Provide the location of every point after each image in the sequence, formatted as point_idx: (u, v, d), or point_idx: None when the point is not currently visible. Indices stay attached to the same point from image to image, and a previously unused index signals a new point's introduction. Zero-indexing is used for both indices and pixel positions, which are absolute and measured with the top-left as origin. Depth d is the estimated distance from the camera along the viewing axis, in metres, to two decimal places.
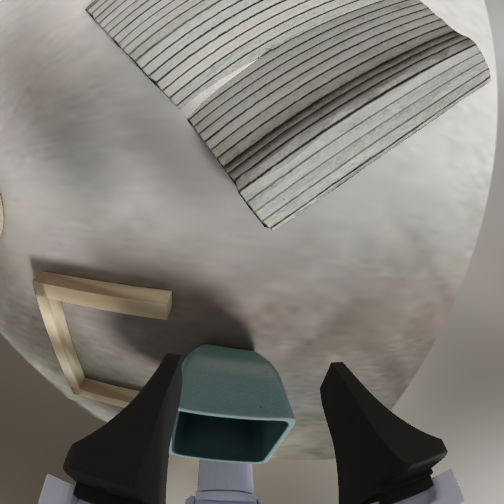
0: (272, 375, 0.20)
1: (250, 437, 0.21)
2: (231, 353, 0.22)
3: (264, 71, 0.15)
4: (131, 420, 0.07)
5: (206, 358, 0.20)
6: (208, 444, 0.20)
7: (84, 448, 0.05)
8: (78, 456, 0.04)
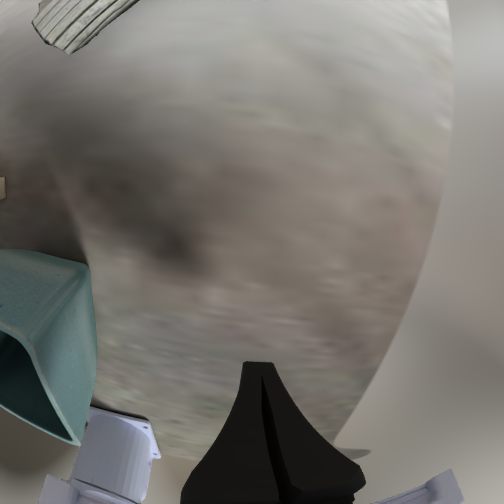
0: (61, 279, 0.10)
1: None
2: (46, 257, 0.13)
3: None
4: (239, 434, 0.07)
5: (9, 253, 0.11)
6: (20, 394, 0.10)
7: (208, 475, 0.05)
8: (207, 486, 0.05)
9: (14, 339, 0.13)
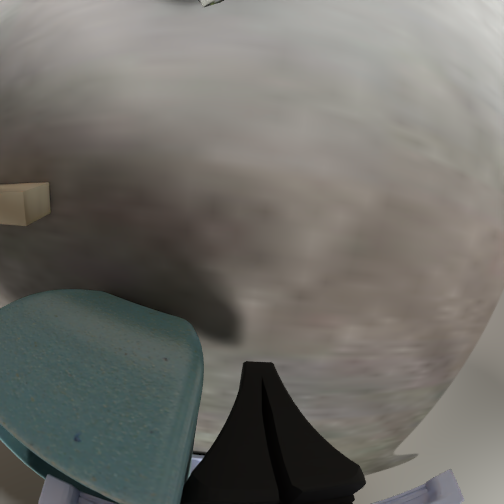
0: (175, 370, 0.07)
1: None
2: (127, 310, 0.10)
3: None
4: (239, 434, 0.07)
5: (64, 301, 0.09)
6: None
7: (208, 475, 0.05)
8: (207, 486, 0.05)
9: None
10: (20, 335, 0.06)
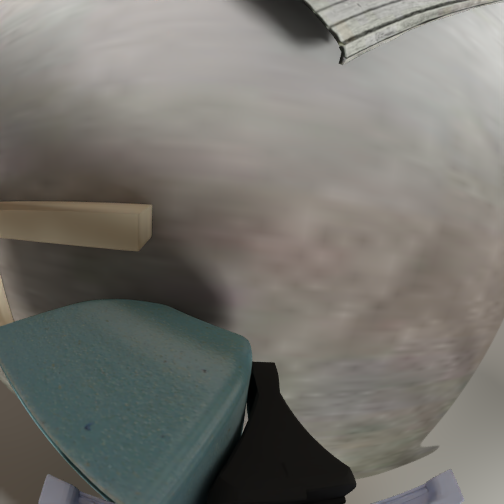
0: (211, 382, 0.07)
1: None
2: (183, 322, 0.11)
3: None
4: (261, 434, 0.07)
5: (120, 309, 0.10)
6: None
7: (235, 476, 0.05)
8: (236, 487, 0.05)
9: None
10: (67, 333, 0.07)
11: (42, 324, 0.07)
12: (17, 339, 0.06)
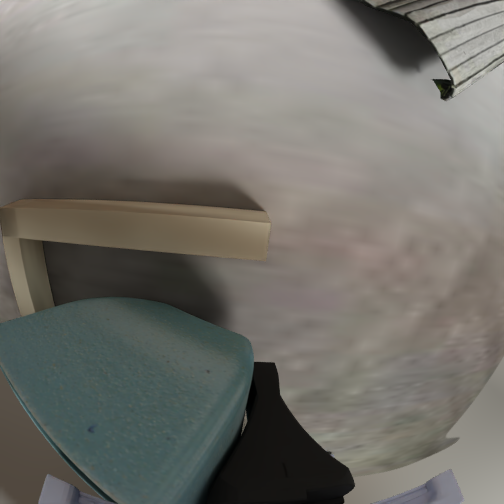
0: (215, 383, 0.07)
1: None
2: (184, 321, 0.11)
3: None
4: (261, 434, 0.07)
5: (120, 307, 0.10)
6: None
7: (235, 476, 0.05)
8: (236, 487, 0.05)
9: None
10: (67, 331, 0.07)
11: (41, 322, 0.07)
12: (16, 337, 0.06)
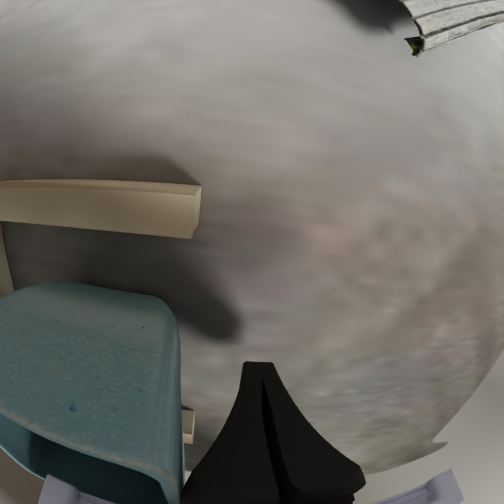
0: (153, 335, 0.08)
1: None
2: (102, 293, 0.10)
3: None
4: (239, 434, 0.07)
5: (43, 293, 0.08)
6: (83, 469, 0.08)
7: (208, 475, 0.05)
8: (207, 486, 0.05)
9: None
10: (7, 327, 0.06)
11: None
12: None
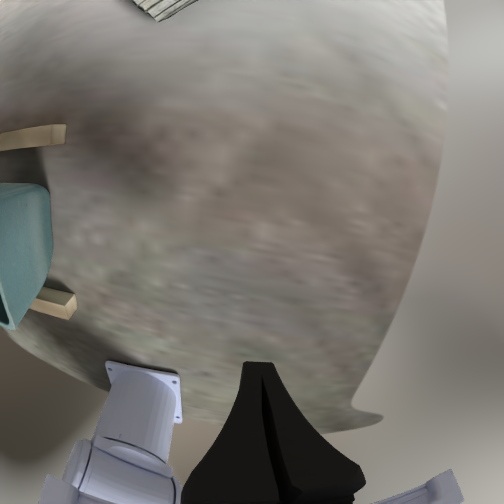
0: (21, 184, 0.12)
1: None
2: None
3: None
4: (239, 434, 0.07)
5: None
6: None
7: (208, 475, 0.05)
8: (207, 486, 0.05)
9: None
10: None
11: None
12: None
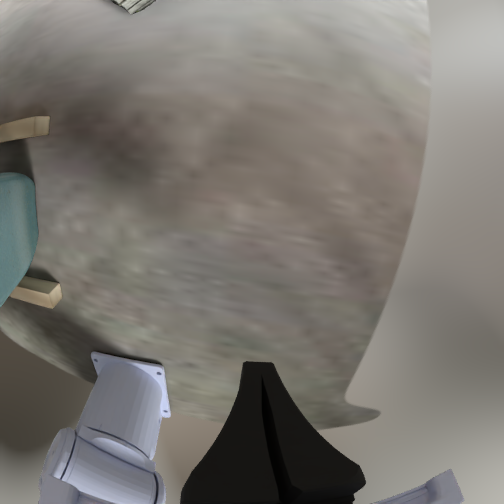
0: None
1: None
2: None
3: None
4: (239, 434, 0.07)
5: None
6: None
7: (208, 475, 0.05)
8: (207, 486, 0.05)
9: None
10: None
11: None
12: None
